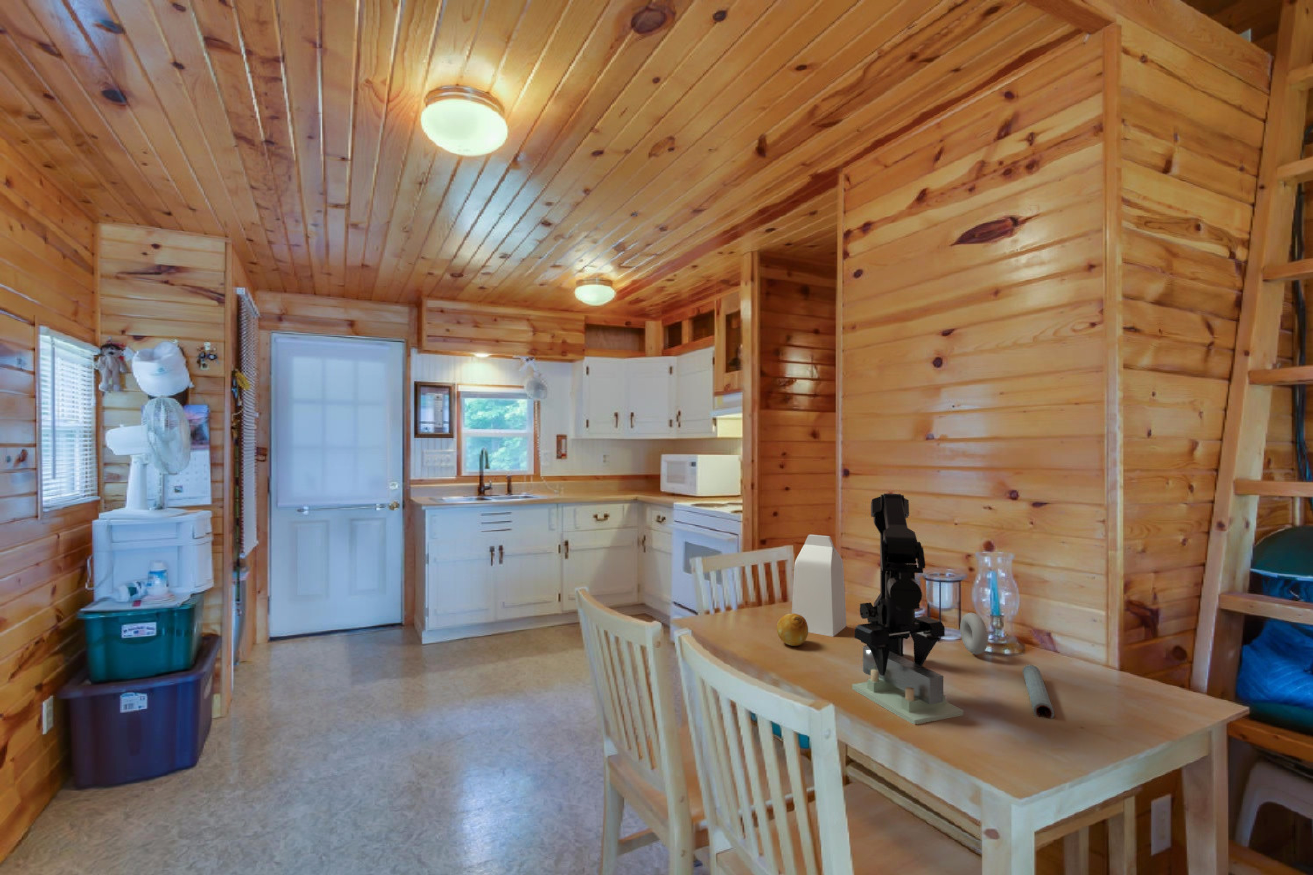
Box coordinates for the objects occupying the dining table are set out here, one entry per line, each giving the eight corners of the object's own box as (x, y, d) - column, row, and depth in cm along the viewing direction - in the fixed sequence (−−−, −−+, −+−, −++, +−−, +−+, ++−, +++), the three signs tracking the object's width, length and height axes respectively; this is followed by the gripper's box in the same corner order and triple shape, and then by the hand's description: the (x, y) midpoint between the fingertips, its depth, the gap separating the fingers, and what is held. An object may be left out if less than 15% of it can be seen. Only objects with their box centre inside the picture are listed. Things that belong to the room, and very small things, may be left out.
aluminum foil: (1022, 678, 140) (1022, 663, 140) (1057, 683, 137) (1057, 668, 137) (1033, 719, 120) (1033, 701, 120) (1074, 726, 117) (1074, 708, 117)
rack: (897, 681, 137) (897, 658, 137) (963, 715, 121) (963, 689, 121) (852, 688, 133) (852, 665, 133) (914, 725, 116) (914, 698, 116)
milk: (790, 628, 175) (791, 536, 175) (806, 618, 184) (806, 531, 184) (832, 636, 168) (833, 540, 168) (846, 626, 178) (846, 534, 178)
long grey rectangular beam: (877, 665, 138) (877, 643, 138) (947, 700, 120) (947, 675, 120) (857, 669, 137) (857, 646, 137) (925, 705, 118) (925, 678, 118)
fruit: (812, 650, 158) (812, 618, 158) (779, 649, 158) (779, 618, 158) (804, 639, 166) (804, 609, 166) (774, 639, 166) (774, 609, 166)
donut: (957, 646, 160) (957, 607, 160) (971, 646, 160) (971, 607, 160) (976, 660, 150) (976, 619, 150) (990, 660, 150) (990, 619, 150)
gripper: (907, 583, 139) (907, 653, 139) (837, 591, 132) (837, 664, 132) (946, 595, 129) (946, 671, 129) (873, 604, 122) (873, 683, 122)
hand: (899, 671), depth 128 cm, fingers open, 9 cm apart
